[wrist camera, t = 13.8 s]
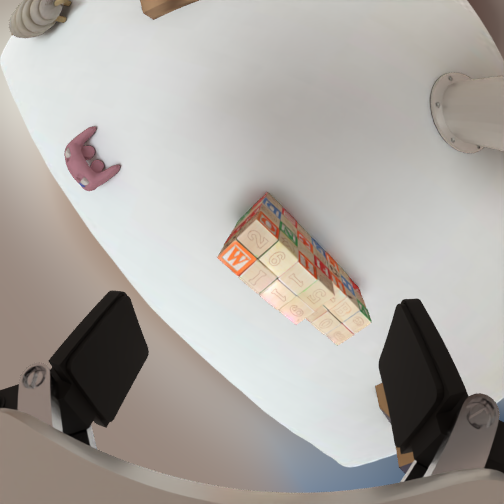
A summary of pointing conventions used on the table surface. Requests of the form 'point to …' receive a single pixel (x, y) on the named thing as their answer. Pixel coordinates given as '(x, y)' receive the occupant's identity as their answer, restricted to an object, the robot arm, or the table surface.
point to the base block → (162, 6)
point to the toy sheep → (36, 17)
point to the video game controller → (79, 167)
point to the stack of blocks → (293, 272)
